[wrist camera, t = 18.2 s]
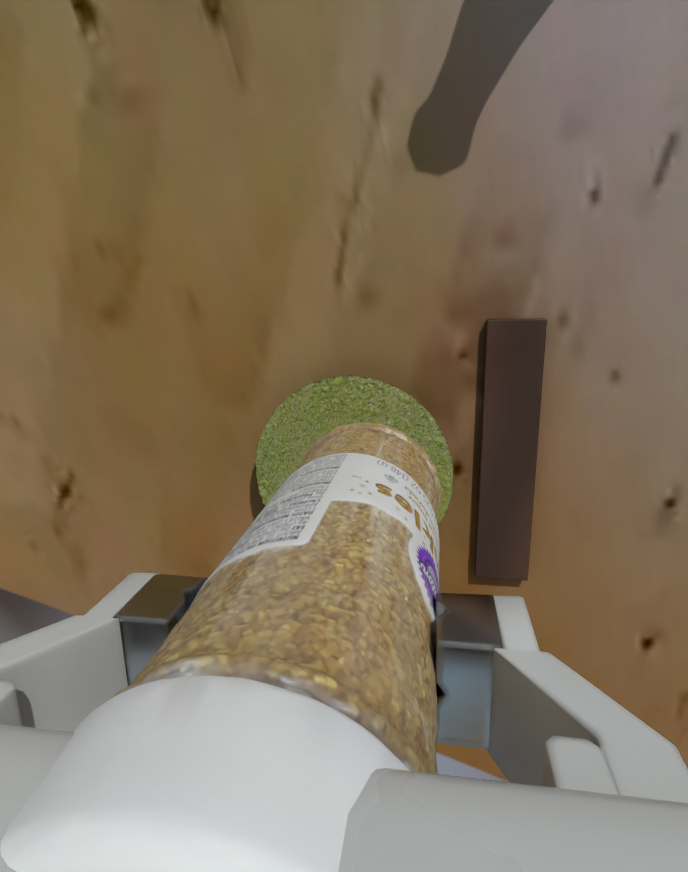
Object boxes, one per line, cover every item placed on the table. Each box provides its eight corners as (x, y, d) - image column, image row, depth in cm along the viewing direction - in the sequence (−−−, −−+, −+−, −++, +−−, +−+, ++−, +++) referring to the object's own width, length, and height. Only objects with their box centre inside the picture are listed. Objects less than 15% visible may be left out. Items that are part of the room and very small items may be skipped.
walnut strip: (474, 572, 33) (475, 577, 32) (486, 319, 29) (487, 319, 29) (526, 576, 32) (527, 581, 32) (545, 318, 29) (547, 319, 28)
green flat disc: (439, 564, 33) (439, 580, 31) (261, 538, 35) (251, 552, 33) (464, 382, 30) (466, 387, 28) (269, 362, 32) (258, 366, 30)
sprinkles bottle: (467, 518, 17) (584, 1266, 4) (340, 576, 18) (110, 1300, 5) (394, 389, 16) (245, 774, 3) (268, 458, 17) (-211, 944, 4)
